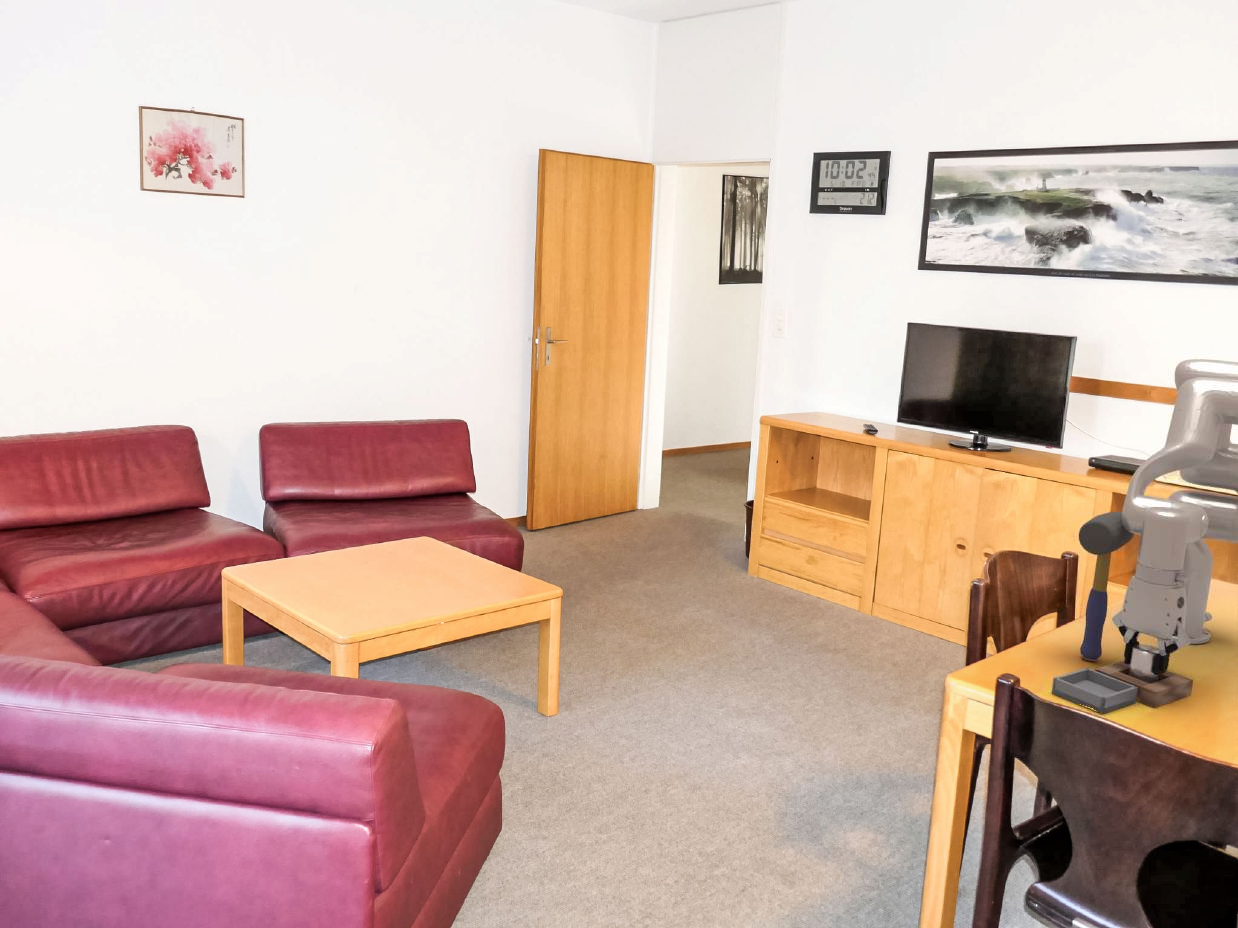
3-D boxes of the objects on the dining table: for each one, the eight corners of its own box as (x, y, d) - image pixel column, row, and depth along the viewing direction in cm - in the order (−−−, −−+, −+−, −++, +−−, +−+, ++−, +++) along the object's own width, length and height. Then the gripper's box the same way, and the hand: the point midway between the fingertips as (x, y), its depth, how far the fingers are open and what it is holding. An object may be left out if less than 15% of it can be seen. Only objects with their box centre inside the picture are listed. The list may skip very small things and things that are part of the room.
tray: (1085, 682, 201) (1087, 667, 200) (1135, 702, 192) (1138, 687, 192) (1051, 693, 195) (1053, 677, 195) (1102, 714, 187) (1104, 698, 186)
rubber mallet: (1097, 673, 206) (1118, 523, 200) (1058, 661, 211) (1077, 515, 205) (1120, 656, 215) (1140, 513, 209) (1082, 646, 220) (1101, 505, 214)
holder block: (1130, 672, 207) (1132, 657, 206) (1190, 694, 197) (1193, 679, 196) (1093, 683, 200) (1095, 668, 200) (1153, 707, 191) (1156, 692, 190)
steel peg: (1136, 682, 202) (1142, 642, 200) (1161, 691, 198) (1168, 651, 196) (1121, 687, 199) (1127, 646, 198) (1146, 697, 195) (1152, 656, 194)
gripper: (1216, 584, 189) (1200, 680, 193) (1126, 559, 203) (1114, 649, 207) (1192, 590, 185) (1177, 688, 189) (1103, 564, 199) (1091, 656, 203)
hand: (1144, 667), depth 198 cm, fingers closed on steel peg, 5 cm apart
